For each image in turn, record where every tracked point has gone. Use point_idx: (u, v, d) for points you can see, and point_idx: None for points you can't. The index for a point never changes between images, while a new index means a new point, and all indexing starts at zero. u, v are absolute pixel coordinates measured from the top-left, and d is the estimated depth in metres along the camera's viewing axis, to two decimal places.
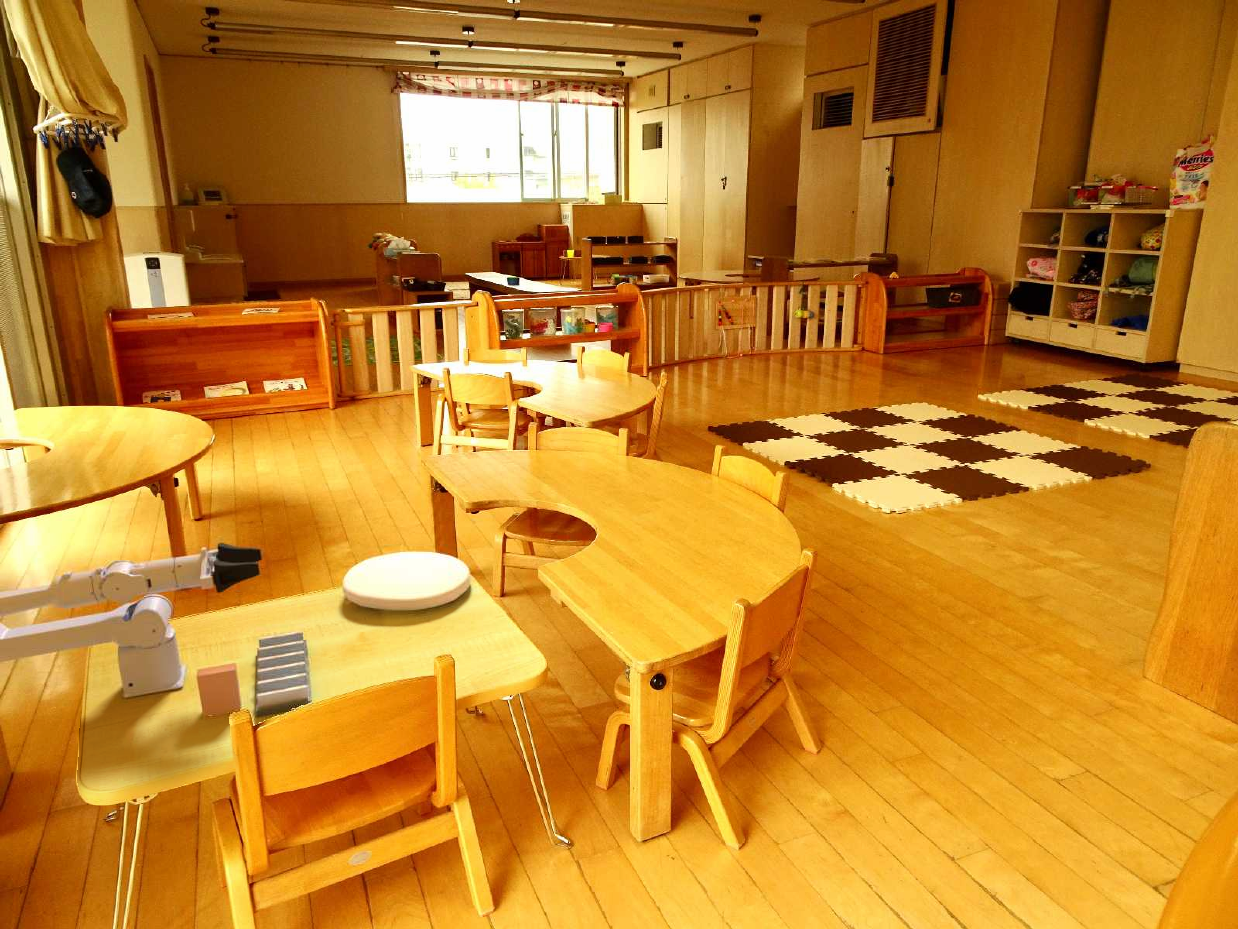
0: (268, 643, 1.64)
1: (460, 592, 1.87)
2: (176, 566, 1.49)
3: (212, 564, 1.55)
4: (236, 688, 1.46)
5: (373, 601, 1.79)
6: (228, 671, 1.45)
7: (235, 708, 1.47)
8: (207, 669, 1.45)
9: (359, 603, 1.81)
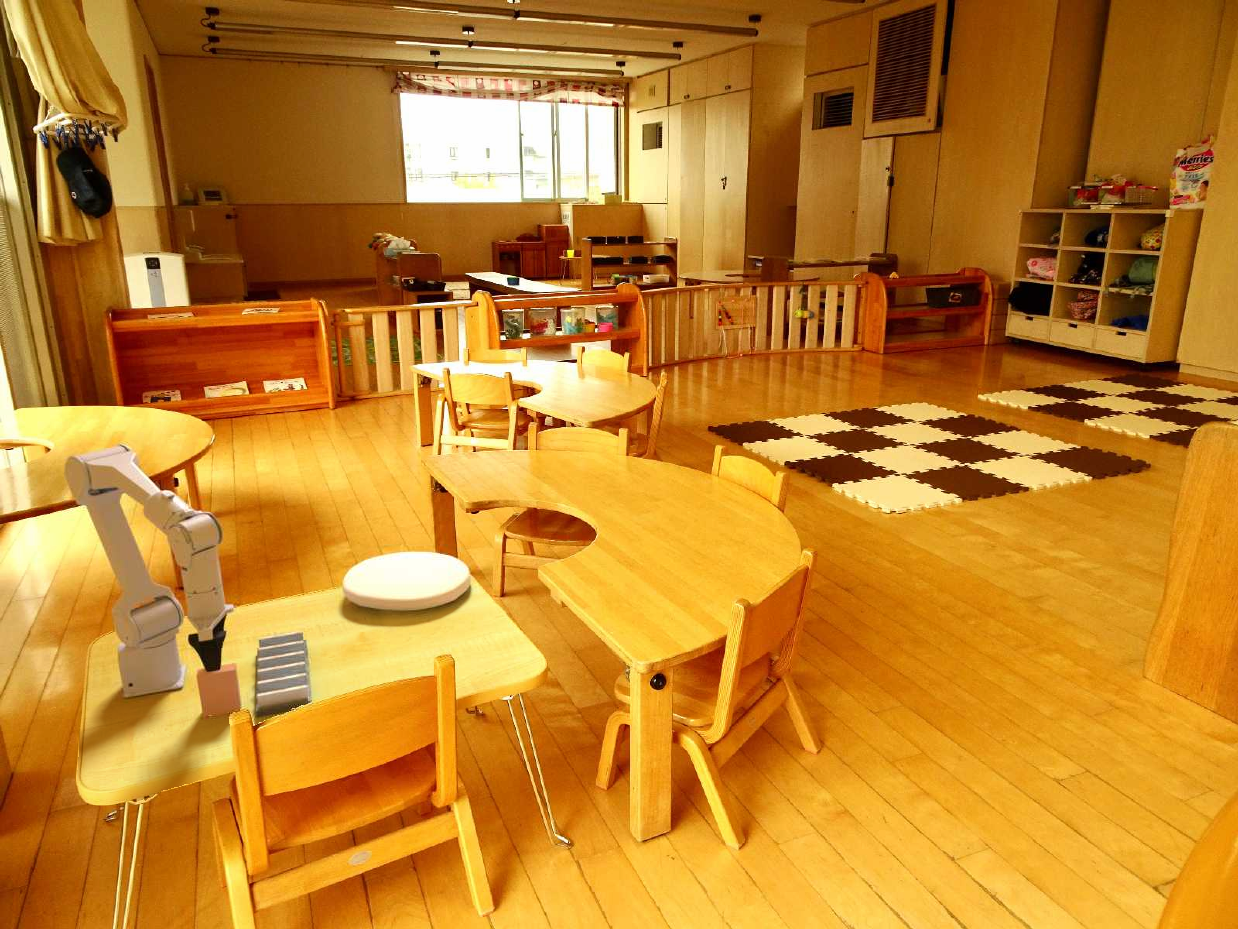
0: (268, 643, 1.64)
1: (460, 592, 1.87)
2: (216, 590, 1.39)
3: None
4: (236, 688, 1.46)
5: (373, 601, 1.79)
6: (228, 671, 1.45)
7: (235, 708, 1.47)
8: None
9: (359, 603, 1.81)
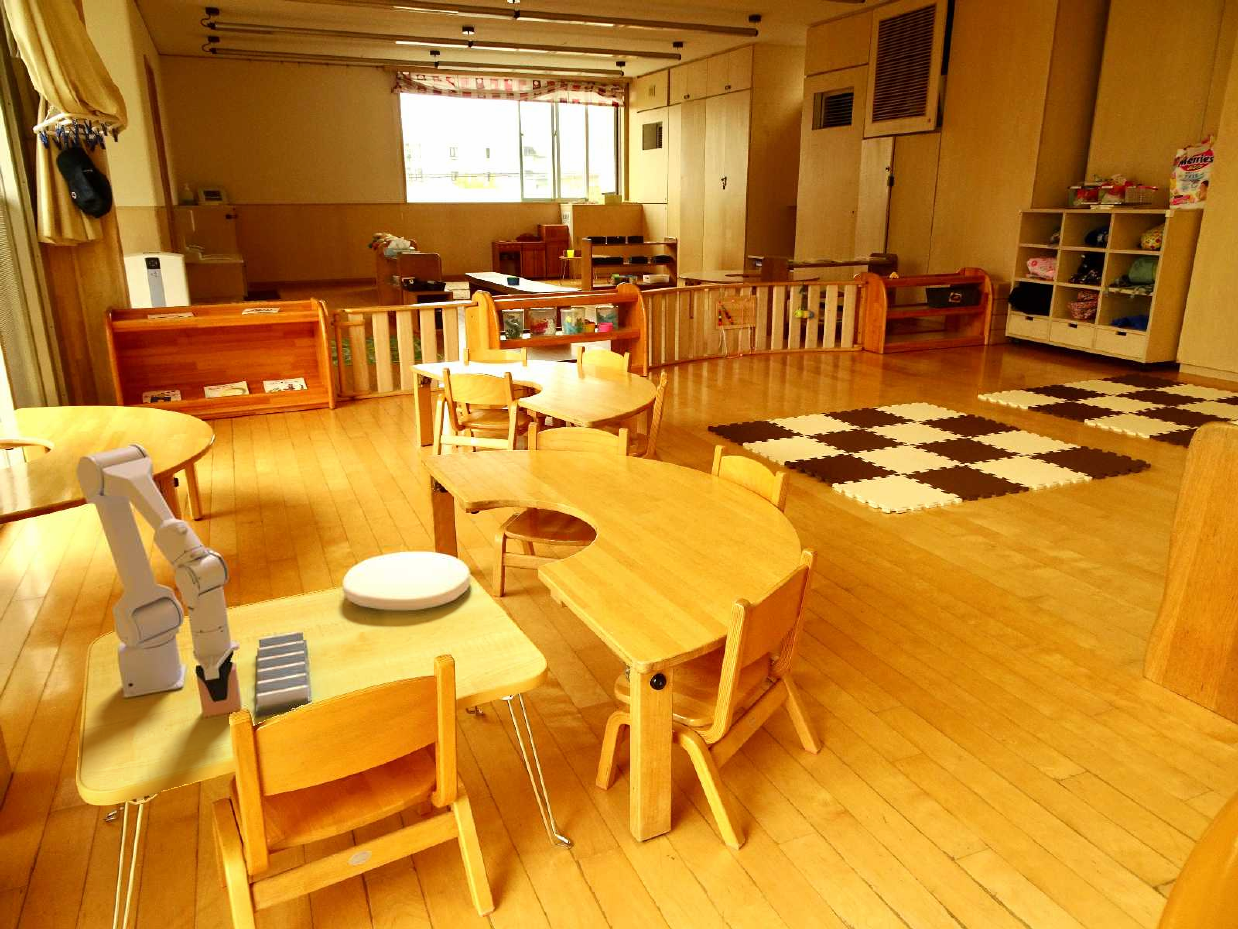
0: (268, 643, 1.64)
1: (460, 592, 1.87)
2: (222, 629, 1.41)
3: None
4: (236, 688, 1.46)
5: (373, 601, 1.79)
6: None
7: (235, 708, 1.47)
8: None
9: (359, 603, 1.81)
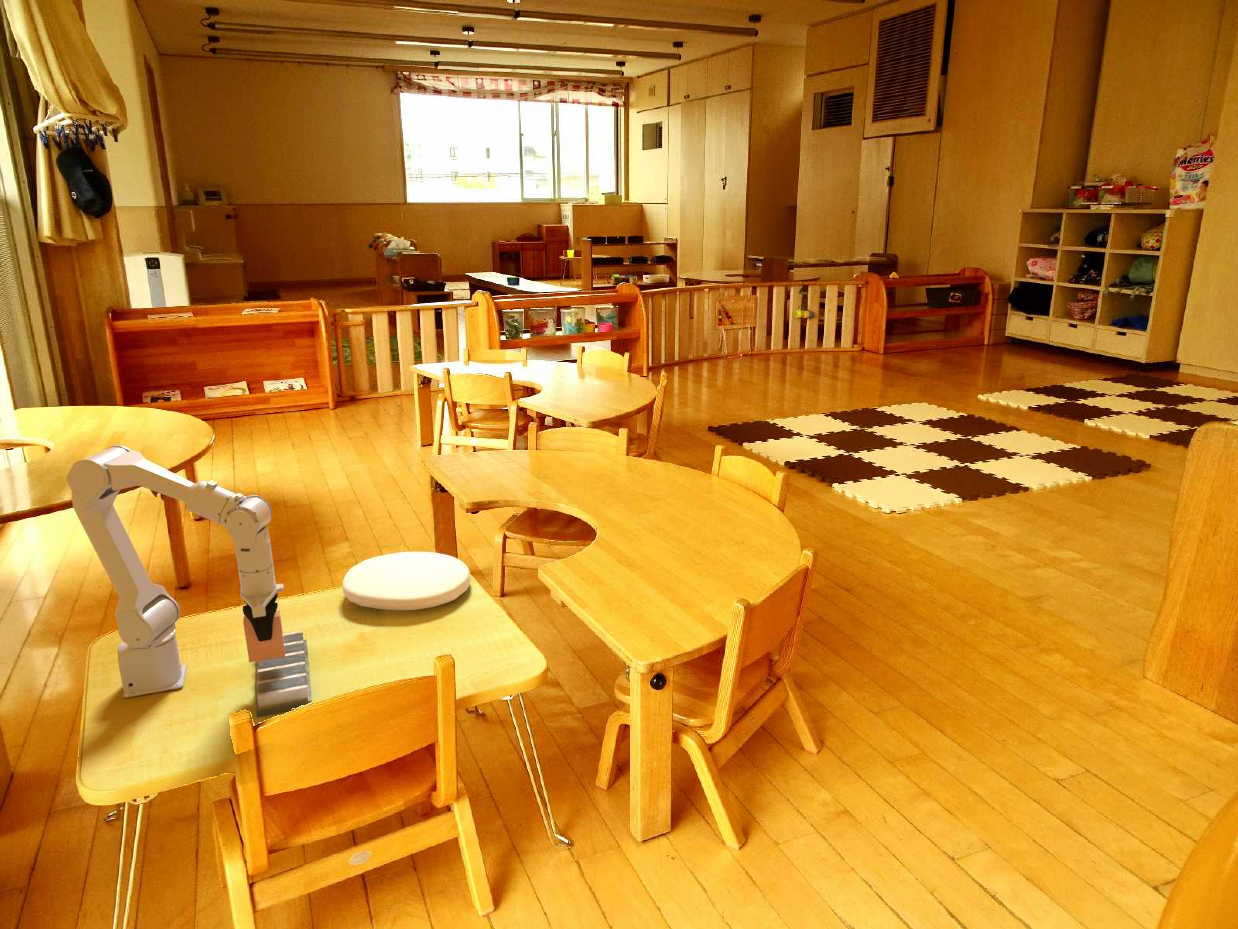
0: None
1: (460, 592, 1.87)
2: (268, 570, 1.47)
3: None
4: (280, 634, 1.52)
5: (373, 601, 1.79)
6: None
7: (279, 654, 1.53)
8: None
9: (359, 603, 1.80)
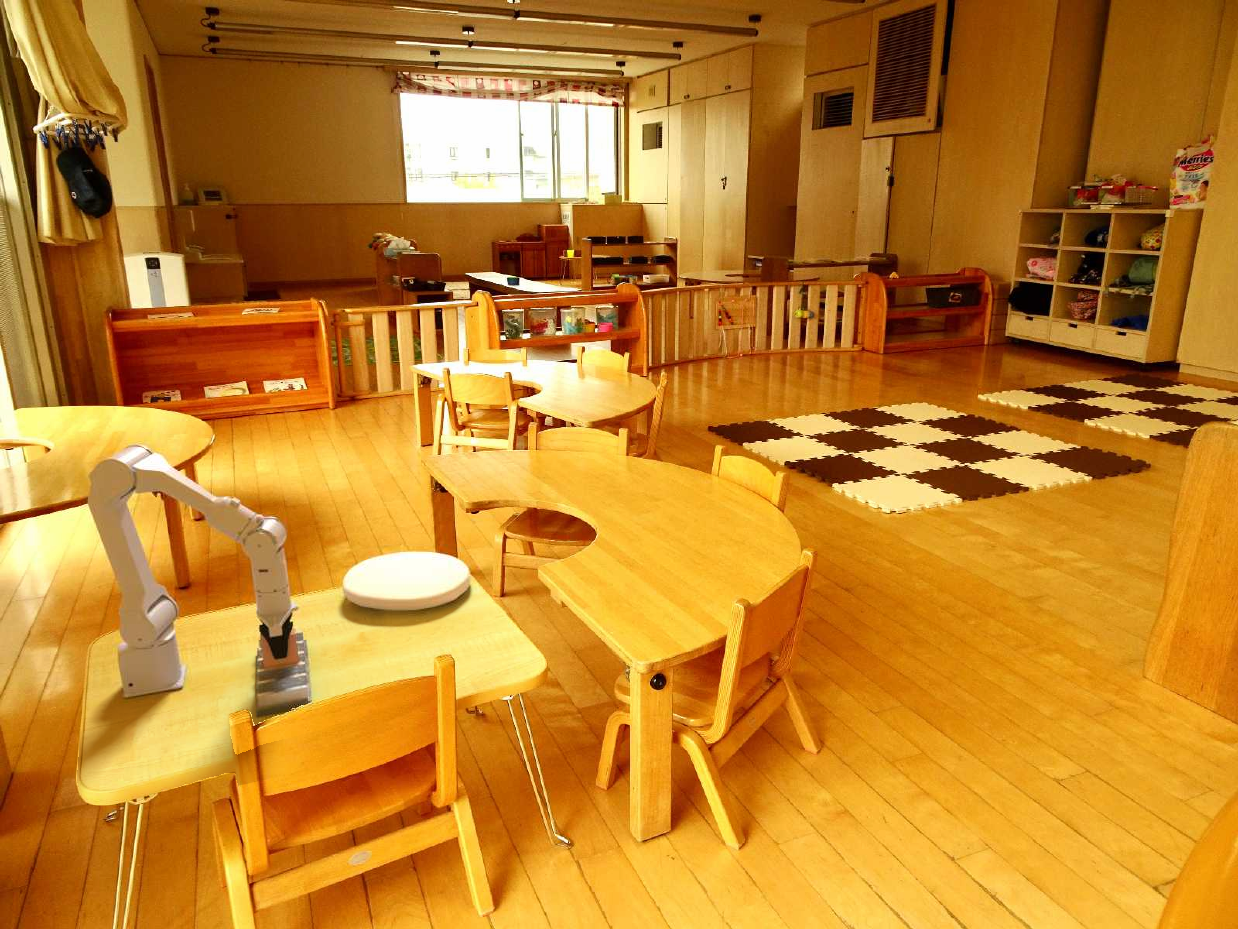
0: None
1: (460, 592, 1.87)
2: (284, 590, 1.50)
3: None
4: (296, 651, 1.55)
5: (373, 601, 1.79)
6: (289, 635, 1.54)
7: None
8: None
9: (359, 603, 1.80)
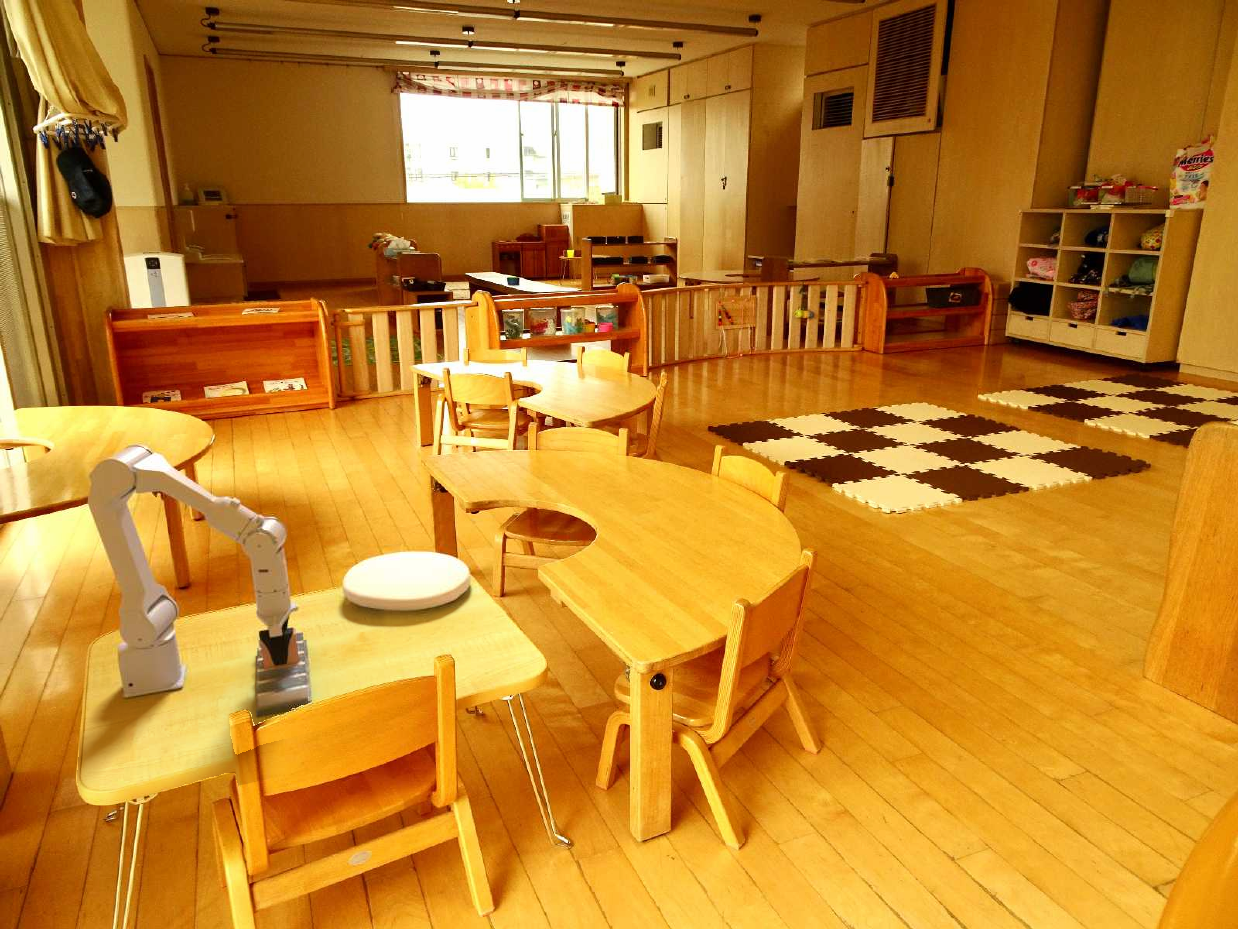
0: None
1: (460, 592, 1.87)
2: (284, 590, 1.50)
3: None
4: (296, 651, 1.55)
5: (373, 601, 1.79)
6: None
7: None
8: None
9: (359, 603, 1.80)
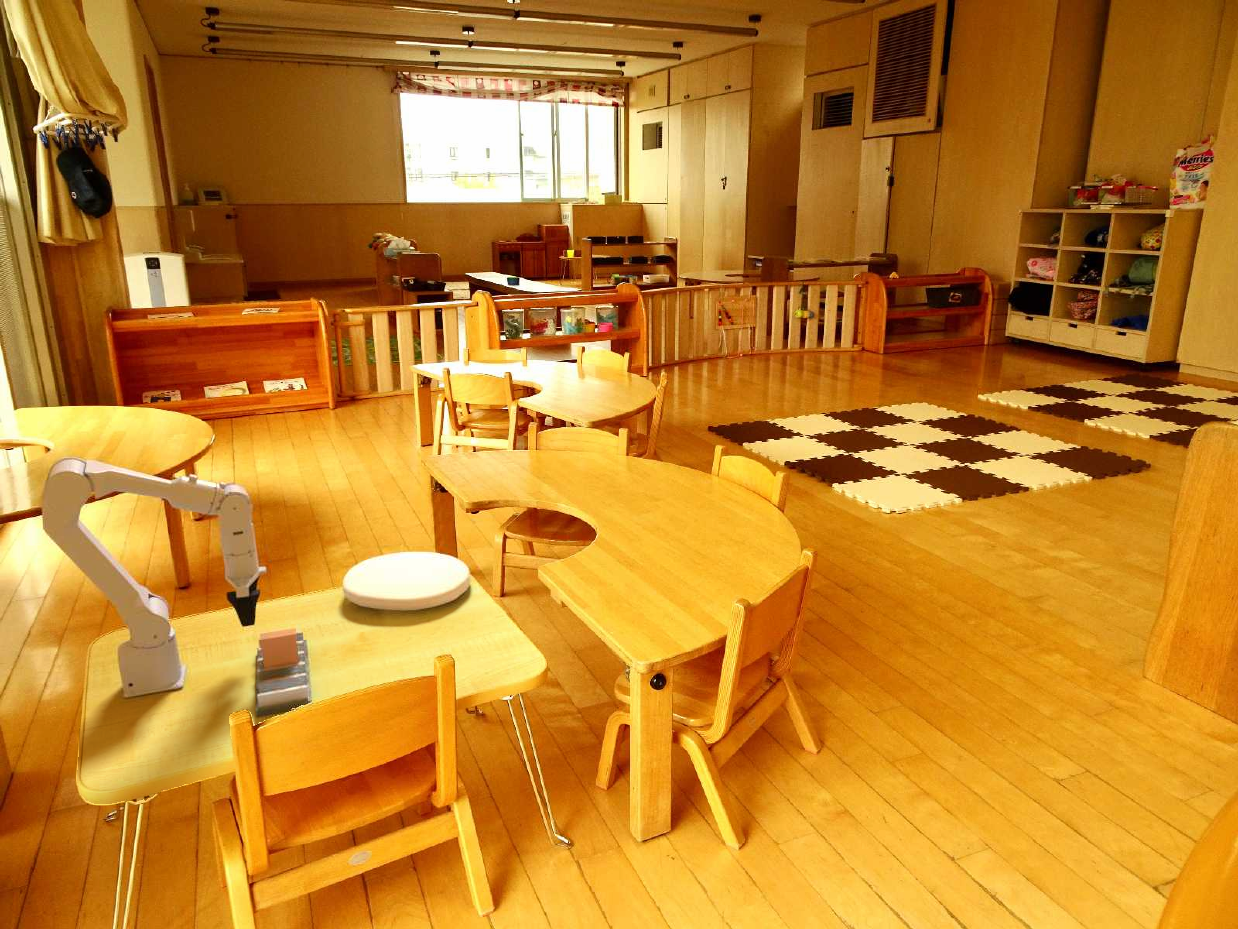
0: None
1: (460, 592, 1.87)
2: (251, 553, 1.55)
3: None
4: (296, 651, 1.55)
5: (373, 601, 1.79)
6: (289, 635, 1.54)
7: None
8: (269, 633, 1.54)
9: (359, 603, 1.80)
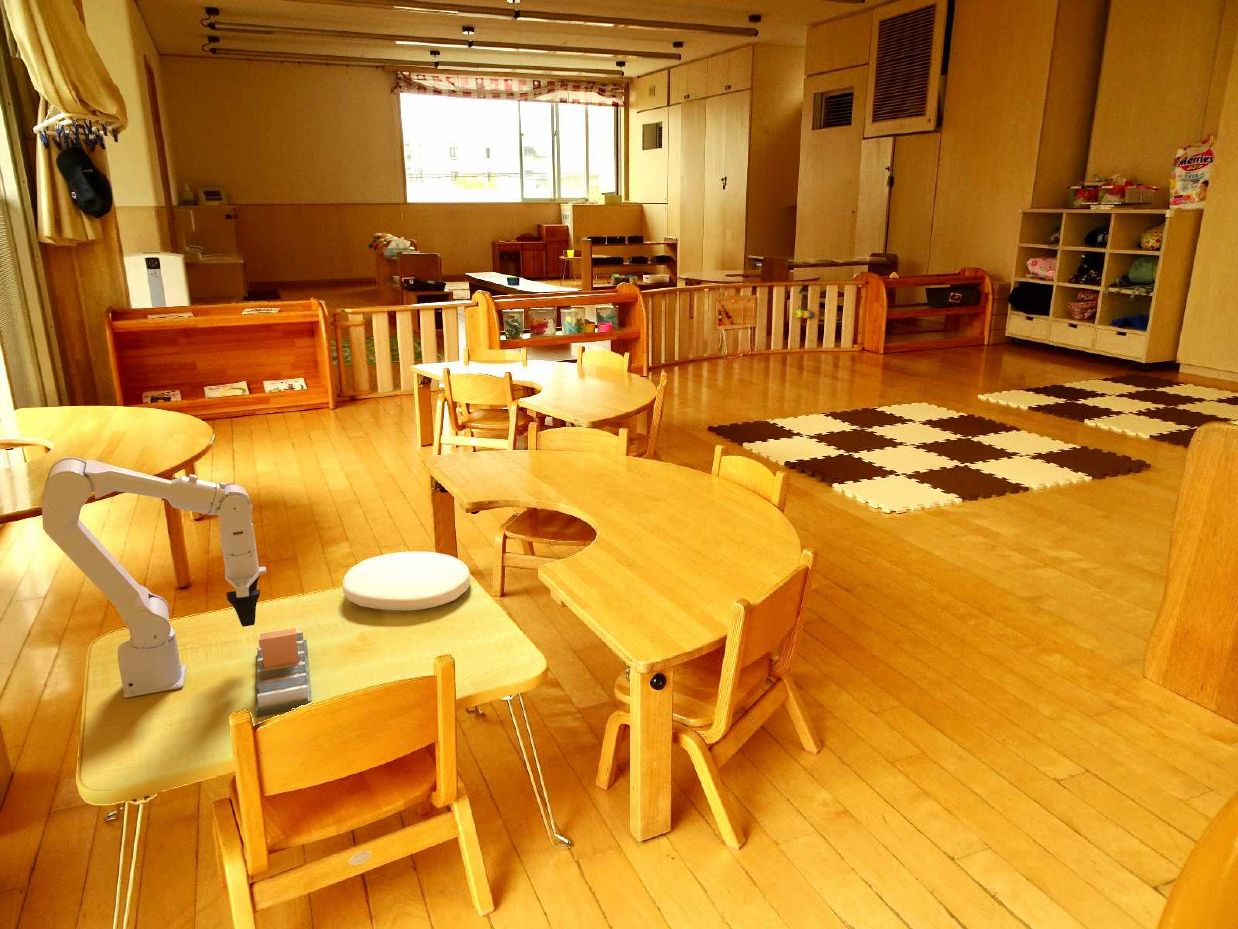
0: None
1: (460, 592, 1.87)
2: (251, 553, 1.55)
3: None
4: (296, 651, 1.55)
5: (373, 602, 1.79)
6: (289, 635, 1.54)
7: None
8: (269, 633, 1.54)
9: (359, 603, 1.80)
